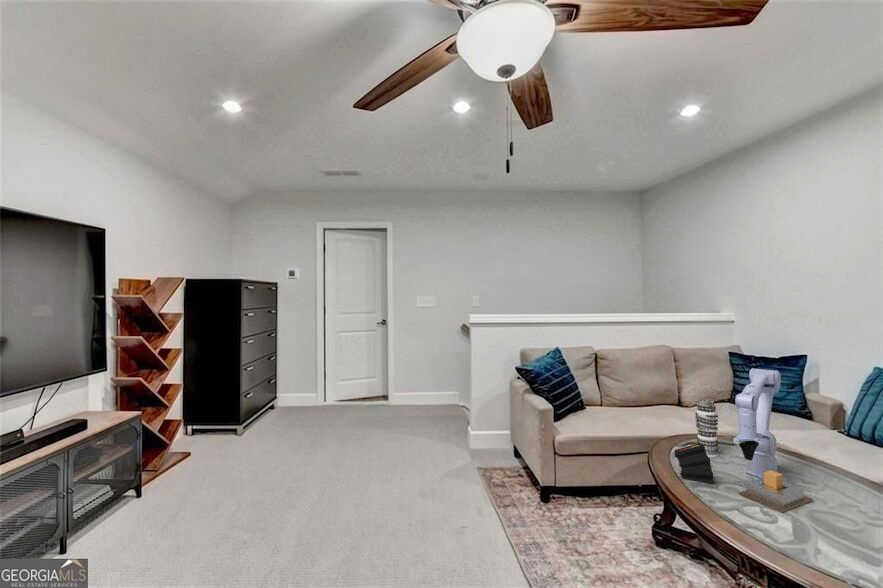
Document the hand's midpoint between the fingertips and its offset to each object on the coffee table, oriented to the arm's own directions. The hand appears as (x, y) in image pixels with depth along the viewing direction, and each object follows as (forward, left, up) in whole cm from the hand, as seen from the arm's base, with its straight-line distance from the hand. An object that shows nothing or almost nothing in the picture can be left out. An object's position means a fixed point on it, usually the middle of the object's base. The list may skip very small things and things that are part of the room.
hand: (748, 459), depth 161 cm
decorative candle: (-16, -28, -11) cm, 34 cm away
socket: (+2, +10, -10) cm, 15 cm away
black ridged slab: (+14, -13, -11) cm, 22 cm away
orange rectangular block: (+2, +10, -9) cm, 14 cm away
